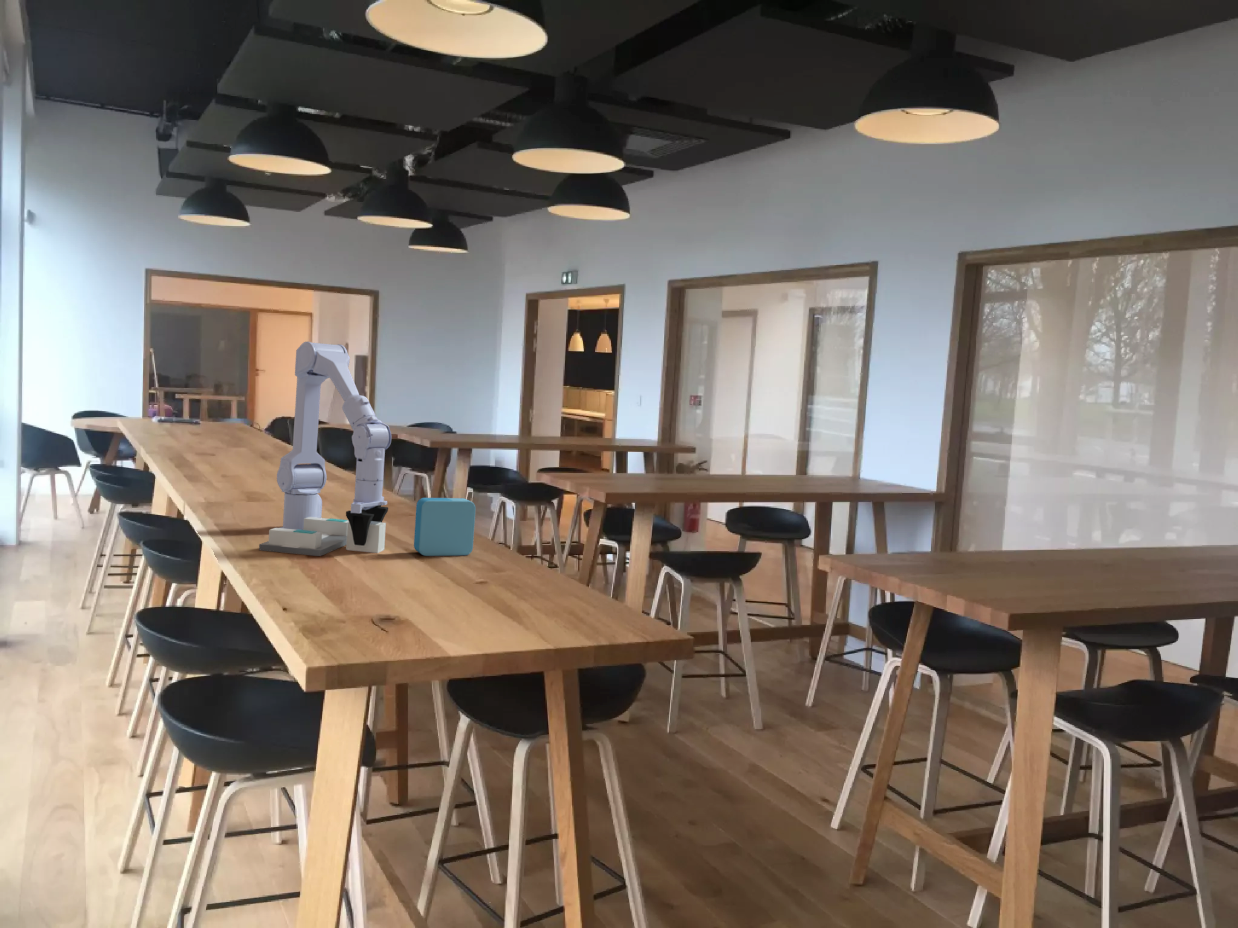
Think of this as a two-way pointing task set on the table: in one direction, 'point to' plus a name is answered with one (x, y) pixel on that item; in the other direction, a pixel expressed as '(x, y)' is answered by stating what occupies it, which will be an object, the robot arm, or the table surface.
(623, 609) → the table surface
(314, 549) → the rail board
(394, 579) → the table surface
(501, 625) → the table surface
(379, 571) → the table surface
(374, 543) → the block
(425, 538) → the data package
